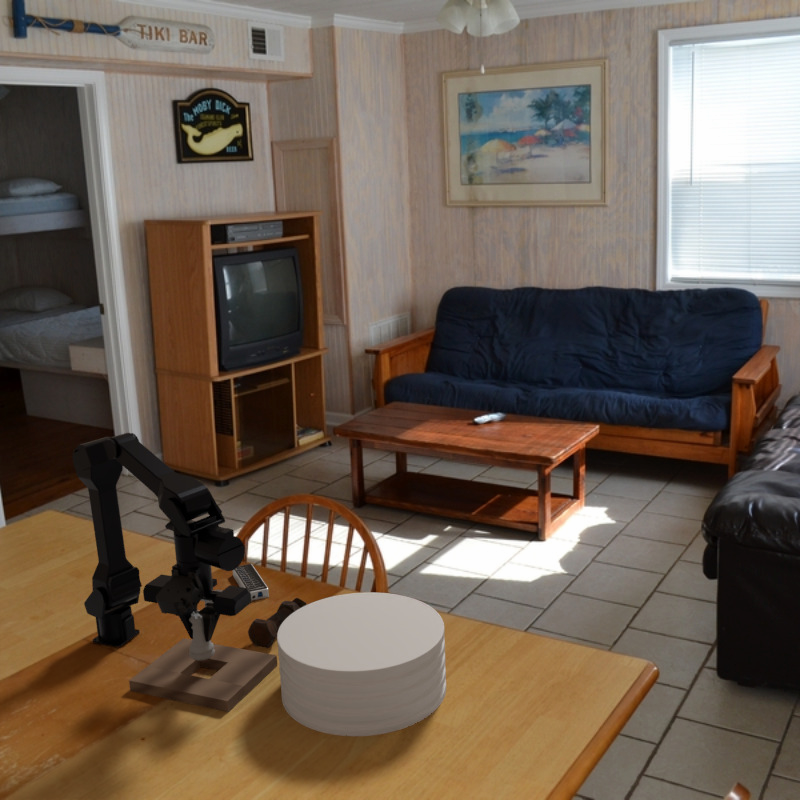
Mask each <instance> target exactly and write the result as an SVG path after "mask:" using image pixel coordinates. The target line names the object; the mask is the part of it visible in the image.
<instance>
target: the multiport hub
mask: <svg viewBox="0 0 800 800" xmlns="http://www.w3.org/2000/svg"><path fill="white" fill-rule="evenodd" d="M232 576H233V578H234V580H235V581H236V583H237V585H238V587H243V588H247V589H248V590H249V591H250V593H251V602H253V601H256V600H262V599H266V598H269V597H270V595H269V587H268V585H267V584H266V583H265V581H264V580H263V578H262V577H261V575H260V574H259V572H258V571H257V569H256V568H255V567H254V565H253V564H252V563H249V564H244V565H243V564H242V565H239V566H238V567H237V568H236V569H234V570H232Z"/></svg>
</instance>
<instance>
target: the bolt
mask: <svg viewBox="0 0 800 800" xmlns="http://www.w3.org/2000/svg"><path fill="white" fill-rule="evenodd" d="M306 605H308V604H307V602H306V601H304V600H302V599H301V598H299V597H296V598H294V599H292V601H291V600H284V601H282V602H281V603H280V605H279V607H277V610H276V612H275V613H274V614H272V615H271V616H270V617H269V618H267V619H262V618H255V619H253V621H252V622H251V624H250V625H249V627H248V630H247V634H248V637H249V640H250V642H251V643H252V644H253V645H254V646H255V647H259V648H261V649H270V648H271V646H273V644H274V642H275V640H276V639H277V633H278V630H279V627H280V626H281V624H282V623H283V621H284V620H285V619H286V618H287V617H288V616H289V615H291V614H292V613H293V612H295V611H296V610H298V609H300V608H302V607H304V606H306Z"/></svg>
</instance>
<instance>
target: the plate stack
mask: <svg viewBox="0 0 800 800" xmlns="http://www.w3.org/2000/svg"><path fill="white" fill-rule="evenodd" d="M445 640H446V639H445V623H444V620H443V617H442V616H441V615H440V614H439V612H438V611H437V610H436V609H435V608H433V607H432V606H431V605H428V604H427V603H425V602H423V601H421V600H419V599H416V598H413V597H409V596H407V595H406V596H405V595H402V594H396V593H389V592H388V593H387V592H376V591H375V592H374V591H373V592H365V591H364V592H354V593H353V592H352V593H344V594H343V593H342V594H339V595H332V596H329V597H325V598H322V599H319V600H316V601H313V602H310V603H308V604H307V605H306V606H304V607H302V608H300V609H298V610H296V611H295V612H293V613H292V614H291V615H289V616H288V617H287V618H286V619H285V620H284V621H283V623H282V624H281V626H280V627H279V630H278V633H277V637H276V641H277V648H278V649H277V651H278V652H277V653H278V655H277V656H278V662H279V663H278V667H279V676H280V680H279V681H280V689H281V692H280V693H281V702H282V705H283V707H284V710H285V711H286V713H287V714H288V715H289V716H290V717H291V718H292V719H293V720H295V721H296V722H297V723H298V724H300V725H303V726H304V727H306V728H309V729H311V730H314V731H316V732H320V733H324V734H328V735H335V736H342V737H368V736H379V735H384V734H389V733H394V732H396V731H397V732H398V731H400V730H403V729H405V728H408V726H409V727H411V726H413V725H415V723H416V724H417V722H418V723H419V722H421V721H423V720H425V719H426V718H428V717H429V716H430V715H432V714H433V713H434V712H435V711H436V710H437V709H438V708H439V706H441V704H442V703H443V701H444V699H445V697H446V692H447V679H446V677H447V671H446V669H447V668H446V651H445V650H446V641H445ZM431 713H432V714H431ZM424 718H425V719H424ZM346 735H347V736H346Z"/></svg>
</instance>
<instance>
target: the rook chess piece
mask: <svg viewBox="0 0 800 800" xmlns="http://www.w3.org/2000/svg"><path fill="white" fill-rule="evenodd" d="M199 611H200V610H199V609H197V611H196V613H195V612H192V614H191V617H190V619H189V621H190V622H191V623H192V627H191V628H192V629H193V639H191V640H192V643H191V646H190V647H189V651H190V653H189V655H190V657H191V658H192V659H194V660H197V661H202V660H206V659H209V658H211V657H212V656H213V654H214V653H215V649H213V648H214V645H213V644H214V643H213V642H212V641H211V640H212V639H211V640H210V641H209V642H206V640H205V635H204V625H203V617H202V616H201V615H200V614H199V613H198V612H199Z"/></svg>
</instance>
